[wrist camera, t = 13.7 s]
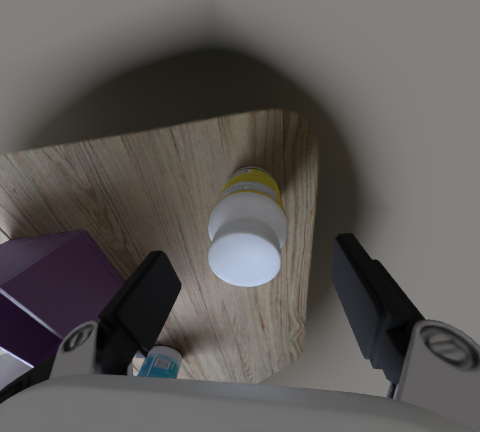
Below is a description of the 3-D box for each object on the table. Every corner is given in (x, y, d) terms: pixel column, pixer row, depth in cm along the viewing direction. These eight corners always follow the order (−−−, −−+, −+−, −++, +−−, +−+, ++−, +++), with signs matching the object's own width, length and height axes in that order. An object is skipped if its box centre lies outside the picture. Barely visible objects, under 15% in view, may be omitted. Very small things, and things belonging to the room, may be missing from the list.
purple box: (9, 239, 26) (-96, 292, 18) (85, 229, 23) (-1, 286, 15) (85, 312, 34) (34, 369, 27) (146, 311, 31) (110, 373, 24)
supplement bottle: (265, 222, 19) (268, 305, 11) (218, 204, 19) (184, 278, 11) (289, 177, 17) (316, 243, 8) (235, 156, 16) (206, 203, 8)
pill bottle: (158, 359, 42) (118, 455, 30) (144, 343, 38) (93, 444, 27) (188, 361, 40) (158, 461, 29) (176, 344, 37) (136, 451, 25)
